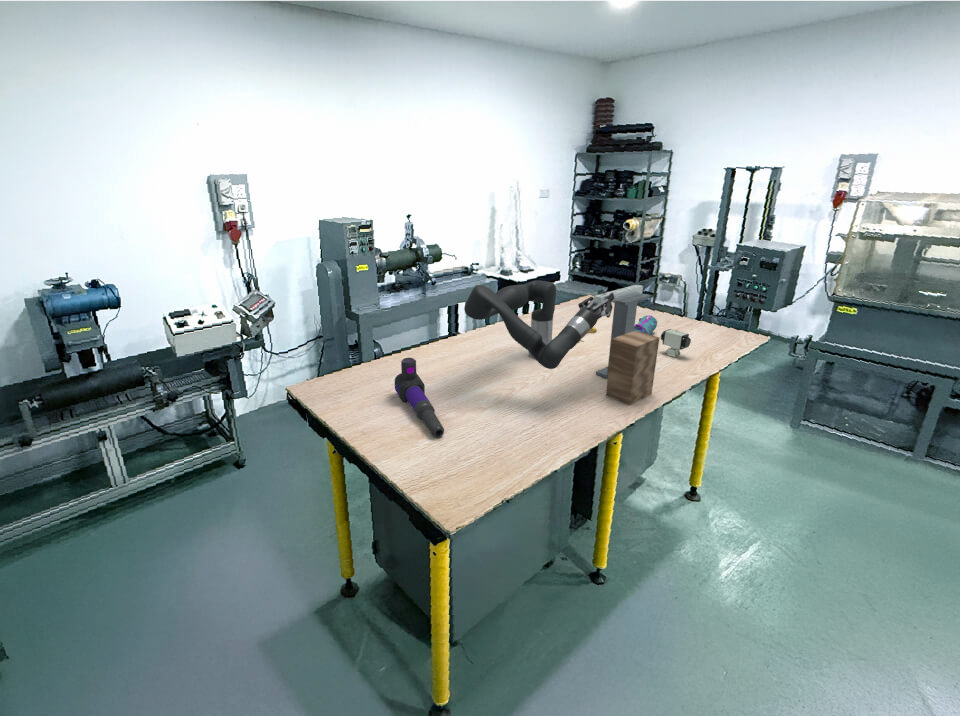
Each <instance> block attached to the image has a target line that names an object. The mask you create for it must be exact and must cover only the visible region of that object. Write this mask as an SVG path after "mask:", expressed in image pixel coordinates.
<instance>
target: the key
mask: <svg viewBox="0 0 960 716" xmlns="http://www.w3.org/2000/svg"><path fill="white" fill-rule="evenodd" d="M597 330H598V329H597V328H596V327H595V326H593V328H592V329H591V330H590V331H589V332H588V333H587V334H595V333H597V332H598V331H597ZM580 342H582V343H584V342H585V341H584V340H582V339H581V340H580V341H579V342H578V343H577V344H579V343H580Z"/></svg>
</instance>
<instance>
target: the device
mask: <svg viewBox="0 0 960 716" xmlns="http://www.w3.org/2000/svg"><path fill="white" fill-rule="evenodd" d="M400 365H401V366H400V367H401V368H400V369H401V373H398V374H397V375H396V376H395V378H394V389H395V391H396V393H397V395H398V397H399V399H400V400H401V401H402V403H405V404H407V403H408V404H409V405H410V406H411V408H412V410H413V412H414V413H415V415H416V416H417V419H419V420H420V421H422V422H423V423H424V425H425V427H426V428H427V429H428V431H429V432H430V434H431V436H432V437H434V438H441V437H443V435H444V432H445V428H444V427H443V424H442V423H441V421H440V420H439V418H438V416H437V415H436V411H435V407H434V406H433V404H432V403H431V401H430V400H429V399H428V397H427V396H426V394H425V393H426V392H425V391H426V390H425V383H424V381H423V380H422V379H421V378H420V376H419V374H418V373H417V360H416V359H415V358H413V357H405V358H403V359H402V360H401V361H400Z"/></svg>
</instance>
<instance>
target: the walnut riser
mask: <svg viewBox="0 0 960 716" xmlns="http://www.w3.org/2000/svg"><path fill="white" fill-rule="evenodd" d="M660 339H661V336H660V337H659V336H656V335H653V334H650V335H649V334H646V333H642V332H639V331H632V332H629V333H627V334H624V335H621V336H618V337H616V338H613V339H612V342H611V341H610V343H611V351H610V350H609V352H610V361H609V360H608V362H609V371H608V379H606V380H607V382H606V390H605V396H607V397H609V398H611V399H613V400H616V401H619V402H621V403H624V404H626V405H628V406H630V405H632V404H635V403H637V402H639V401H640V400H641V399H644V398H646V397H647V396H650V395H651V394H652V393H653V388H654V387H653V386H654V380H655V379H654V378H655V373H656V365H657V358H658V352H659V345H660V344H659V343H660Z"/></svg>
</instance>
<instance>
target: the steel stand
mask: <svg viewBox="0 0 960 716" xmlns="http://www.w3.org/2000/svg"><path fill="white" fill-rule="evenodd" d="M650 298H651V294H646V293H642V294H639V295H636V296H632V297H629V298H625V299H622V300H618V301H615V302H612V304H613V305H614V306H613V315H612V325H611V334H610V335H611V336H610V343H609V353H608V354H609V355H608V364H607V365H608V366H606V367H604V368H601V369H598V370H597V371H595V375H596V377H597V376H598V377H600V378H603V379H605V380H608V371H609V361H610V351H611V342H612V339H613V338H616V337H618V336H621V335H624V334H627V333H629V332H632V331H634V326H635V324H636V316H637V308H638V302H640V301H644V300H648V299H650Z"/></svg>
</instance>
